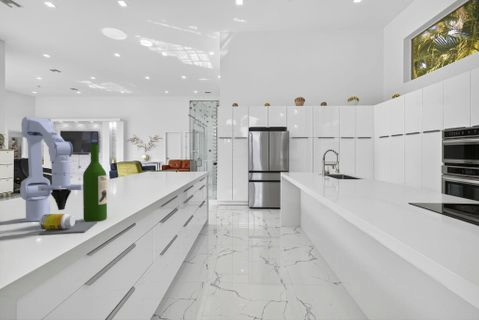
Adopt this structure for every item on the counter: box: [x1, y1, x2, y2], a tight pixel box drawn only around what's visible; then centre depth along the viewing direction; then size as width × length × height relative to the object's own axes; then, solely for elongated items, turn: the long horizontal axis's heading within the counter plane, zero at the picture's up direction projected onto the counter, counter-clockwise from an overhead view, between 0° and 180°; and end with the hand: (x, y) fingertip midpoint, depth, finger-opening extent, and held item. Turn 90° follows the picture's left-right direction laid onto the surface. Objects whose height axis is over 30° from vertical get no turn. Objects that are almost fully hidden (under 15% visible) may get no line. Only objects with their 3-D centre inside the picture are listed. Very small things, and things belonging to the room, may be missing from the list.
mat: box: [39, 221, 98, 236], centre depth 101 cm, size 14×14×1 cm
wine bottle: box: [82, 144, 108, 223], centre depth 115 cm, size 9×9×32 cm
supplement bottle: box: [38, 213, 76, 231], centre depth 98 cm, size 6×6×10 cm
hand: (61, 209), depth 100 cm, fingers closed
